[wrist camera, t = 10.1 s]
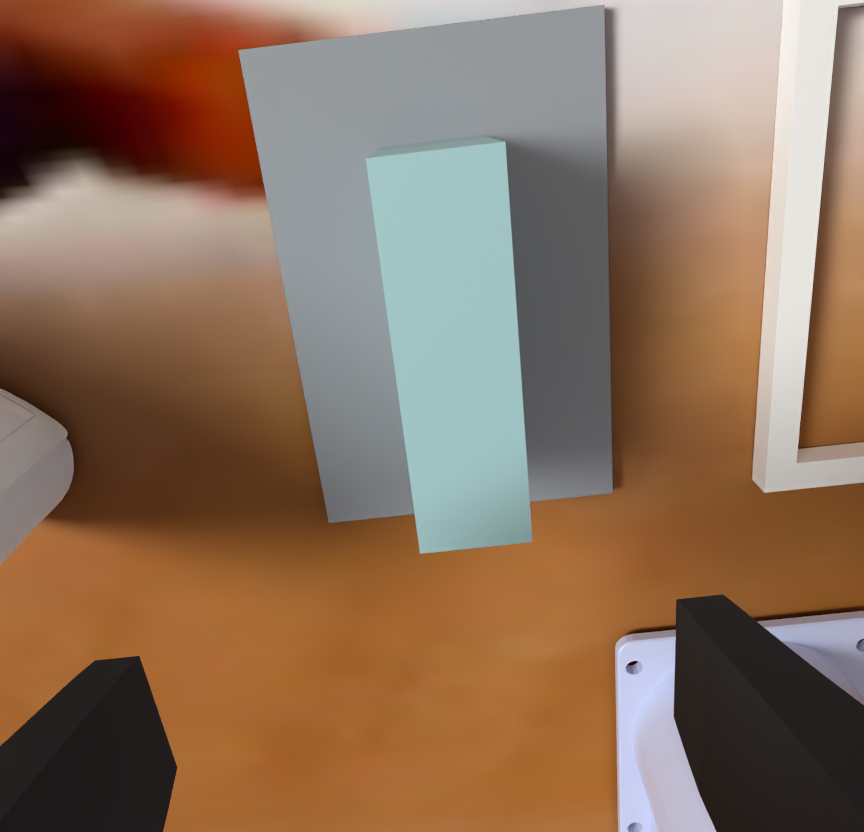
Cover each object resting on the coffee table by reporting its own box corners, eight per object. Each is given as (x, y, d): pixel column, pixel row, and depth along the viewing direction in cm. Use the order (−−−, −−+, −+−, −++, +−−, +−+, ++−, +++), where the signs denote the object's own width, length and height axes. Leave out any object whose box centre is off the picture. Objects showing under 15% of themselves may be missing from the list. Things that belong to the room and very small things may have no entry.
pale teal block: (507, 449, 20) (532, 541, 15) (419, 459, 20) (420, 553, 15) (483, 135, 17) (505, 141, 12) (379, 148, 17) (365, 158, 12)
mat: (610, 487, 20) (612, 493, 20) (330, 517, 21) (328, 523, 20) (601, 6, 16) (603, 5, 16) (241, 51, 16) (238, 50, 16)
